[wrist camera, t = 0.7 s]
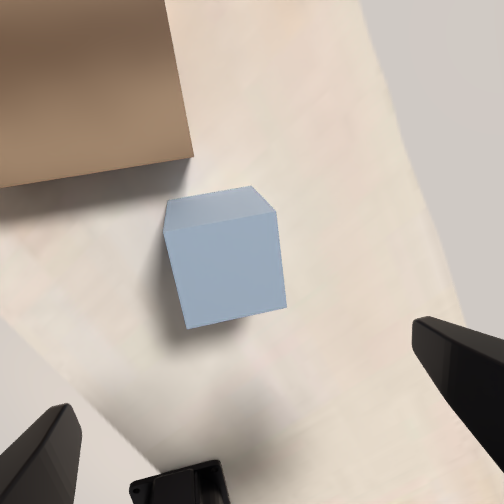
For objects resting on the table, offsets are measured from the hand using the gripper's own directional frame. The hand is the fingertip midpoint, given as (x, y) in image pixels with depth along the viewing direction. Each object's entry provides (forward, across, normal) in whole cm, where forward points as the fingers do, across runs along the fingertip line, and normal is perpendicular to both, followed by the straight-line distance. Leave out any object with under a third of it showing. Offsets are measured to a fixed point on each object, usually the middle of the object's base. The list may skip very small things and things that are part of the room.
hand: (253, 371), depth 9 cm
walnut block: (+12, +5, -9) cm, 16 cm away
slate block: (+12, 0, 0) cm, 12 cm away
